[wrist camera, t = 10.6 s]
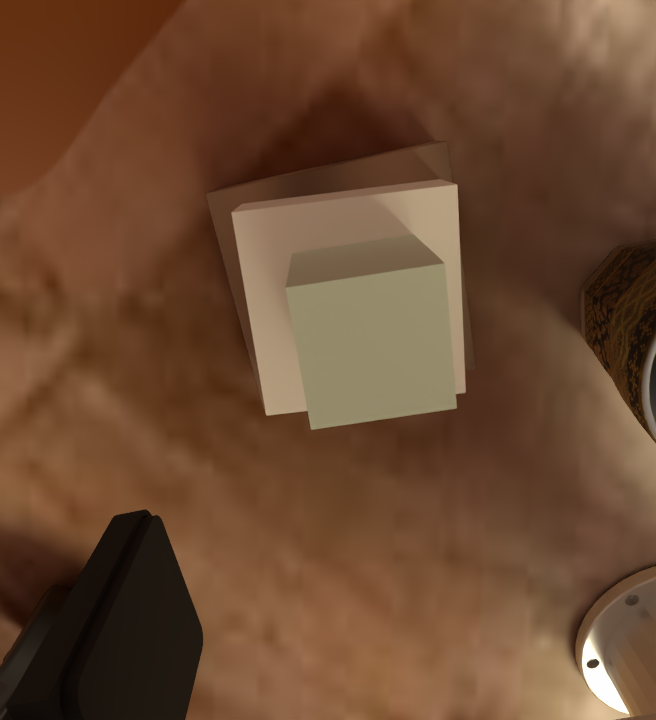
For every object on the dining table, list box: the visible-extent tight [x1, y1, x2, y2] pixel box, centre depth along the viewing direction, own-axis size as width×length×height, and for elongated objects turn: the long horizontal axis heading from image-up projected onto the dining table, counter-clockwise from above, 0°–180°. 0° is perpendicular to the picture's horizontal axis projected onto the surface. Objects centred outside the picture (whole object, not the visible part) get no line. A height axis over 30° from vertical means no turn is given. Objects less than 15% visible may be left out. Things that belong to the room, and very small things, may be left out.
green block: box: [285, 235, 457, 430], centre depth 22 cm, size 5×5×6 cm
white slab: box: [231, 179, 466, 416], centre depth 26 cm, size 9×9×4 cm
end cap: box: [0, 584, 71, 720], centre depth 36 cm, size 10×7×7 cm
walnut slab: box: [205, 141, 476, 410], centre depth 30 cm, size 11×11×4 cm
